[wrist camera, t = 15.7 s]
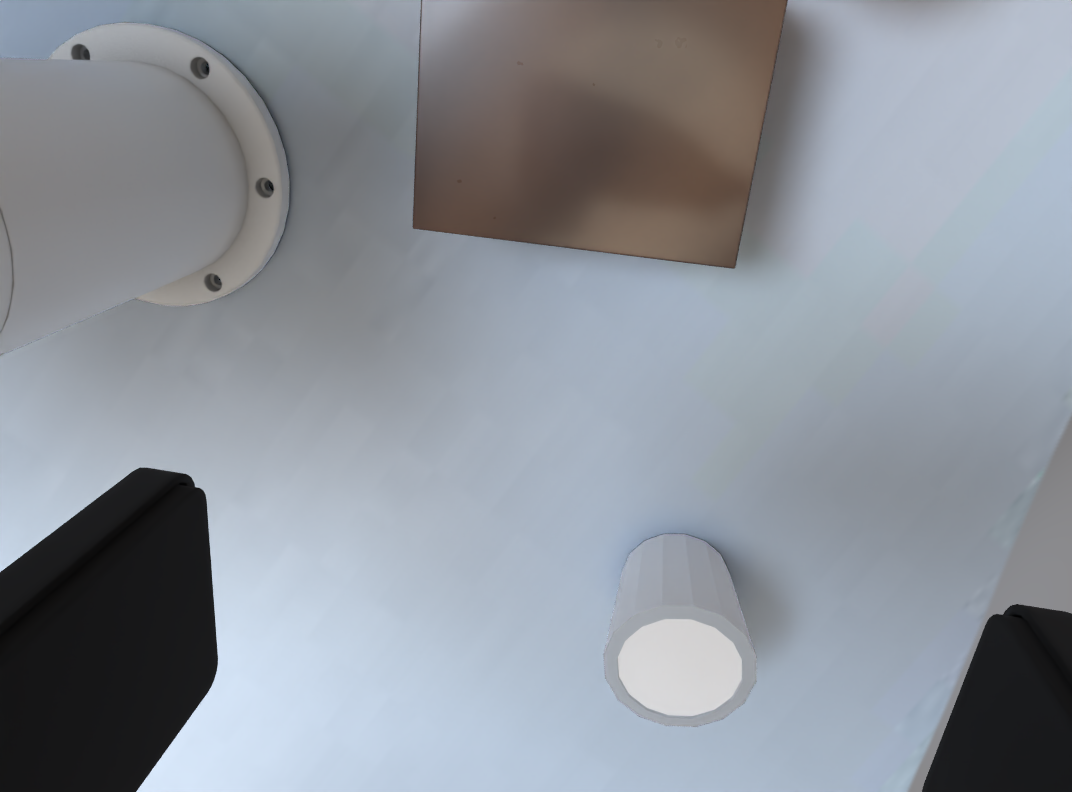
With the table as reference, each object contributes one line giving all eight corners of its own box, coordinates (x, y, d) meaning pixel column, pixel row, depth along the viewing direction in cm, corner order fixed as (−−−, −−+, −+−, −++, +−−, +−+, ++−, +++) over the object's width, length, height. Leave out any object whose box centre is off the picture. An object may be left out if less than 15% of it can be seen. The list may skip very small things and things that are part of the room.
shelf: (454, 201, 36) (412, 228, 30) (468, -36, 33) (423, -64, 26) (719, 233, 35) (735, 269, 29) (764, -8, 31) (794, -30, 25)
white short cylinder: (692, 499, 40) (699, 580, 34) (767, 595, 42) (789, 689, 35) (584, 563, 42) (572, 650, 36) (659, 652, 44) (661, 750, 37)
